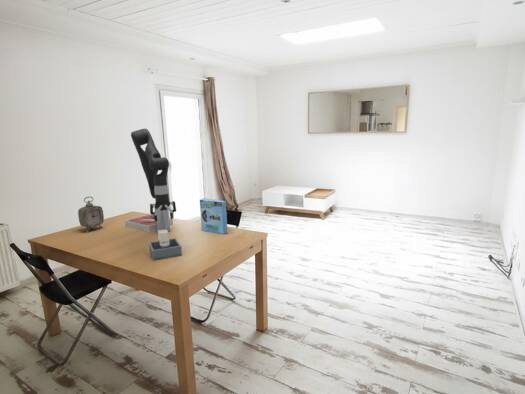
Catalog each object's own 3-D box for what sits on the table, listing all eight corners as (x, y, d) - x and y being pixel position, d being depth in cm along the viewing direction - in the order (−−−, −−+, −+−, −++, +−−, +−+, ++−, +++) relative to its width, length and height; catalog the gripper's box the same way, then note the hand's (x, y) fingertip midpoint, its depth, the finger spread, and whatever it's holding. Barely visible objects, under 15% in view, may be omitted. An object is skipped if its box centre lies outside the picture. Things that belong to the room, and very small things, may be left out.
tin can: (158, 251, 188) (157, 240, 186) (167, 249, 192) (166, 237, 190) (163, 254, 184) (162, 242, 182) (172, 251, 188) (171, 240, 186)
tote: (149, 251, 191) (149, 242, 190) (176, 246, 198) (175, 238, 197) (153, 260, 178) (152, 250, 176) (181, 255, 184) (181, 246, 183)
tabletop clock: (86, 233, 228) (81, 199, 222) (79, 231, 232) (74, 198, 227) (105, 228, 240) (101, 195, 235) (97, 226, 244) (93, 194, 239)
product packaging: (149, 220, 261) (148, 214, 260) (173, 225, 246) (172, 218, 245) (125, 227, 244) (124, 220, 243) (149, 232, 228) (148, 226, 227)
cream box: (158, 239, 188) (157, 230, 187) (167, 238, 190) (166, 229, 189) (159, 242, 182) (159, 233, 181) (168, 241, 184) (168, 232, 183)
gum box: (227, 232, 224) (226, 200, 220) (223, 234, 220) (221, 202, 215) (205, 228, 234) (204, 198, 229) (201, 230, 229) (199, 199, 225)
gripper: (149, 195, 176) (152, 223, 180) (175, 192, 183) (177, 219, 186) (147, 193, 183) (150, 220, 186) (173, 190, 189) (175, 216, 193)
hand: (164, 220), depth 186 cm, fingers open, 8 cm apart
